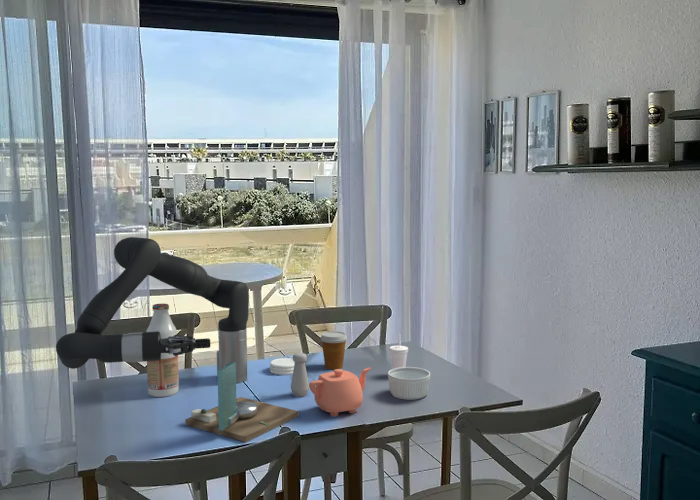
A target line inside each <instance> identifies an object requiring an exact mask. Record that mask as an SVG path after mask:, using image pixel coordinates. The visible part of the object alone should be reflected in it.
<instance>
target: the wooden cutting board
mask: <svg viewBox="0 0 700 500" xmlns="http://www.w3.org/2000/svg"><path fill="white" fill-rule="evenodd" d="M241 401H249V402H254V403H256V404H257V414H256V415H255V416H252V417H249V418H239V419H238V420H236V421H235V422H234V423H233V424H231V425H230V426H228V427H227V428H226V429H225V430H223V431H222V430H219V412H218V405H217V406H215V407H212V408H209V409H208V410H207V409H206V408H202V409H200V408H196V409H194V410H191V412H190V413H191V416H190V417H187V418H185V423H184V424H185V426H187V427H192V428H195V429H199V430H202V431H207V432H210V433H211V434H216V435H219V436H222V437H223V436H224V437H226V438H229V439H233V440H237V441H240V442H243V443H247V442H250V441H251V439H252V440H253V438H254V439H256V438H258V437H259V436H261V435H264V434H266V433H268V432H269V431H271V430H273V429H275V428H278V427H279V426H282V425H284V424H286V423H288V422H290V421H292V420H294V419H297V417H298V418H299V416H300V415H299V414H300V413H299V410H295V409H291V408H288V407H284V406H281V405H275V404H270V403H267V402H262V401H260V400H259V401H258V400H255V399H250V398H247V397H243V396H240V397H238V398H237V397H236V402H241ZM255 437H256V438H255Z"/></svg>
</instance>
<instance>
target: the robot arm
mask: <svg viewBox="0 0 700 500" xmlns="http://www.w3.org/2000/svg"><path fill="white" fill-rule="evenodd" d="M113 255H114V259H115V261H116V263H117V264H118V265H119V266H120V267H121V268H122V269H124V270H123V271H122V272H121V273H120V275H118V277H116V278H115V279H114V280H113V281H111V282H110V283H109V284H107V285H106V286H104V288H103V289H101V290H100V291H99V292H98V293H96V295H94V297H92V299H90V301H89V303H87V305H86V306H85V308H84V310H83V311H82V312H81V314H80V315H79V317H78V319H77V322H76V329H75V331H74V332H71V333H66V334H65V335H63V336H61V337H60V338H59V339H58V341H57V342H56V345H55V351H56V354H57V356H58V358H59V360H60V362H61V363H62V364H63V366H64V367H65V368H67V369H71V370H73V369H74V370H75V369H79V368H81V367H82V366H84V365H85V364H86V363H88V361H89V359H90V360H91V359H92V360H94V359H95V360H98V361H99V362H102V363H105V364H108V363H124V362H125V363H143V362H144V363H145V362H147V361H159V360H160V359H161V353H168V354H173V356H177V355H178V356H179V355H184V354H188V353H189V354H190V353H192V352H193V351H195V350H196V349H210V348H211V339H210V338H195V337H193V336H189V335H188V336H187V335H181V334H177V335H174V336H169V337H168V338H164V339H161V334H160V332H159V331H156V332H146V331H144V332H143V331H142V332H141V331H139V332H129V333H123V334H108V335H107V334H106V335H103V333H104V331H105V330H106V328H107V327H108V325H109V324H110V323H111V321H112V319H113V317H115V315H116V313H117V312H118V311H119V310H120V308H121V306H122V305H123V304H124V303H125V301H126V300H127V299H128V298H129V297H130V296H131V295H132V293H133V292H134V291H135V290H136V289H137V288H138V287H139V285H141V284H142V282H144V280H145V279H146V278H147V277H148V276H149V277H152V278H154V279H155V280H158V281H160V282H162V283H164V284H165V285H169V286H170V287H173V288H175V289H177V290H179V291H182V292H184V293H187V294H190V295H193V296H199V297H201V298H204V299H205V300H207V301H209V302H210V303H212V304H213V305H215V306H217V307H220V308H223V309H228V316H227V317H224V318H221V319H220V320H218V323H217V329H218V331H217V333H218V334H217V335H218V350H217V351H216V379H217V380H218V370H219V369H220V368H222V367H224V366H225V365H227V364H229V363H230V362H236V384H237V383H238V384H239V383H243V382H245V381H247V380H248V340H247V339H248V336H247V332H248V331H247V323H248V321H249V311H250V310H249V309H250V307H249V306H250V292H249V288H248V285H247V284H246V283H245V282H243V281H238V280H229V279H221V278H216V277H214V276H211V275H209V274H208V272H207V271H206V269H205V268H204V267H203V266H202V265H199V264H198V263H195V262H194V261H192V260H189V259H187V258H183V257H180V256H176V255H173V254H166V253H163V252H162V251H161V247H160V245H159V243H158V242H157V241H156V240H155V239H152V238H147V237H135V236H130V237H125V238H122V239H121V240H119V241H118V242H117V243H116V245H115V247H114V250H113Z"/></svg>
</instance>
